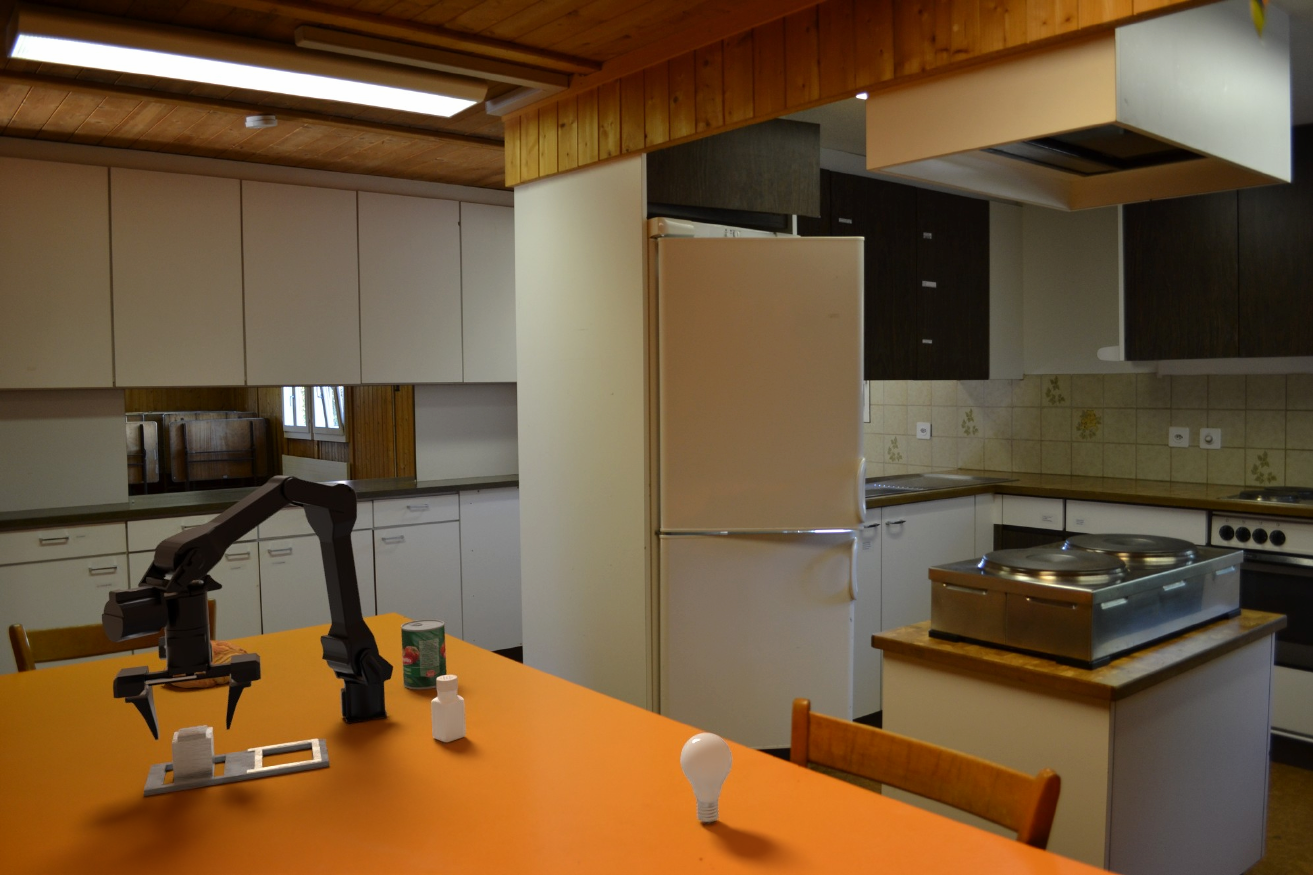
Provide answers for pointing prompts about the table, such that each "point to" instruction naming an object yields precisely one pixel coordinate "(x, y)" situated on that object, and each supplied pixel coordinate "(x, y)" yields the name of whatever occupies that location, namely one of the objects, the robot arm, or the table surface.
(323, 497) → the robot arm
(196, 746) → the grey upright rectangular block
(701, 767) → the lightbulb
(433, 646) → the canned tomato
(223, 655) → the croissant
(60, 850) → the table surface
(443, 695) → the pepper shaker
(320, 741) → the rail
